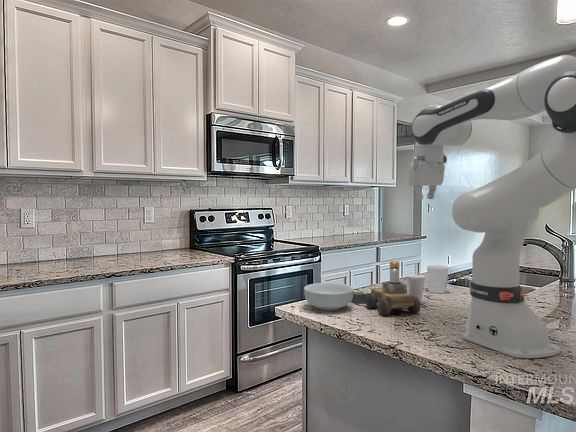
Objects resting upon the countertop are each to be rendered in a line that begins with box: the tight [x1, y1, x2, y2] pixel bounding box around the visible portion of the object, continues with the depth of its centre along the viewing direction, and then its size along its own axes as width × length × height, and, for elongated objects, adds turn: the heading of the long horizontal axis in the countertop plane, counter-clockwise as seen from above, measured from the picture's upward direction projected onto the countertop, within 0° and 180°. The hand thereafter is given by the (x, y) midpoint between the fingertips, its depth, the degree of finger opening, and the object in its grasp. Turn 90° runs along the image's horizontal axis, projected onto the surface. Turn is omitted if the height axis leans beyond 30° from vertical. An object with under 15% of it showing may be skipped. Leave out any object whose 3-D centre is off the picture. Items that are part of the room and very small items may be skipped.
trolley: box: [365, 280, 422, 316], centre depth 134 cm, size 14×13×9 cm
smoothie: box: [406, 263, 426, 305], centre depth 143 cm, size 6×6×14 cm
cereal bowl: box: [303, 282, 354, 312], centre depth 137 cm, size 17×17×7 cm
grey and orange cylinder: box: [389, 261, 400, 285], centre depth 134 cm, size 3×3×10 cm
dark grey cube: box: [351, 291, 367, 305], centre depth 144 cm, size 4×4×4 cm
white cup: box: [426, 264, 449, 294], centre depth 160 cm, size 8×8×10 cm
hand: (424, 199), depth 131 cm, fingers open, 8 cm apart
